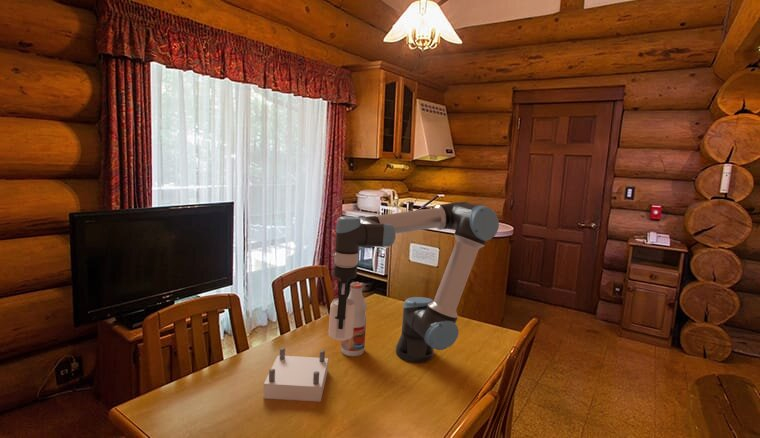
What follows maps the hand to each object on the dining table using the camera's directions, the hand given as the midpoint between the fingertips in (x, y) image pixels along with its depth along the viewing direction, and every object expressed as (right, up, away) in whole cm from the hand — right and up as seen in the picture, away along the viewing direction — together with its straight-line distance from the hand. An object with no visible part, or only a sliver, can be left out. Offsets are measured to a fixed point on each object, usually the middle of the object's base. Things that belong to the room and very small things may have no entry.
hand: (340, 331), depth 131 cm
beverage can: (0, -2, 0) cm, 2 cm away
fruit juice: (+2, -16, +28) cm, 32 cm away
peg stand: (-15, -18, +3) cm, 24 cm away
